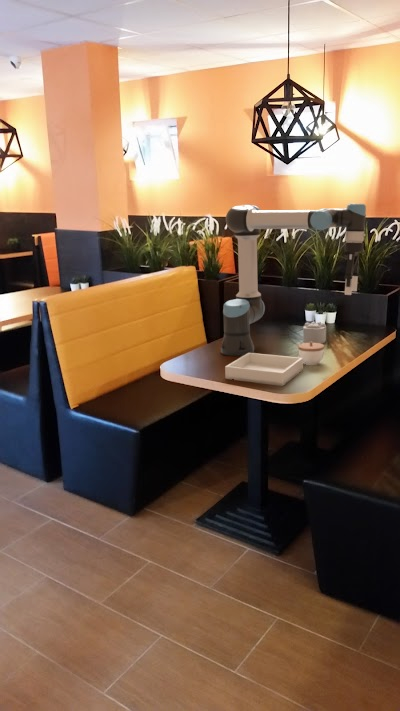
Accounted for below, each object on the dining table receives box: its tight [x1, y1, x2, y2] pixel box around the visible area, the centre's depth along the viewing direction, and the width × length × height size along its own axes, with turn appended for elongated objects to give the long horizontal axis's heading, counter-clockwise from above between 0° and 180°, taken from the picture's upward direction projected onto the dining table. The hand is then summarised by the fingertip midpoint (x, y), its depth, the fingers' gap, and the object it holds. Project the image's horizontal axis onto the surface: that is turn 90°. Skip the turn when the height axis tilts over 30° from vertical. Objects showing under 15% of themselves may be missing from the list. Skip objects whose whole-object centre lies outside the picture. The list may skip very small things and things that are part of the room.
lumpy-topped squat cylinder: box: [302, 321, 327, 344], centre depth 284 cm, size 10×13×9 cm
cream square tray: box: [224, 352, 304, 387], centre depth 236 cm, size 24×22×5 cm
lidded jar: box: [297, 342, 325, 366], centre depth 247 cm, size 11×11×9 cm
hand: (350, 292), depth 251 cm, fingers open, 13 cm apart
